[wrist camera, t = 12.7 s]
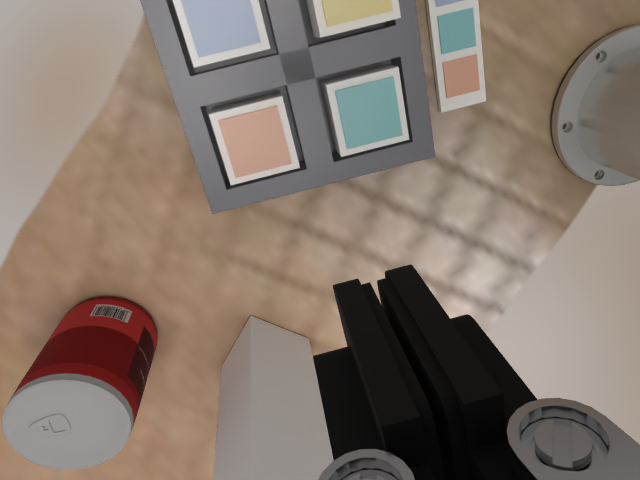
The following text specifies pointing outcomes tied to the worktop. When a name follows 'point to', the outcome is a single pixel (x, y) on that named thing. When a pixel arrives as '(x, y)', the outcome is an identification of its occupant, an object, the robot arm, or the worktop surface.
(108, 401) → the canned food
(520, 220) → the worktop surface
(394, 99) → the key teal
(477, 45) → the strip
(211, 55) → the key slate
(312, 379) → the milk
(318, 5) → the key mustard
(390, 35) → the keypad
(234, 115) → the key terracotta
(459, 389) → the robot arm
